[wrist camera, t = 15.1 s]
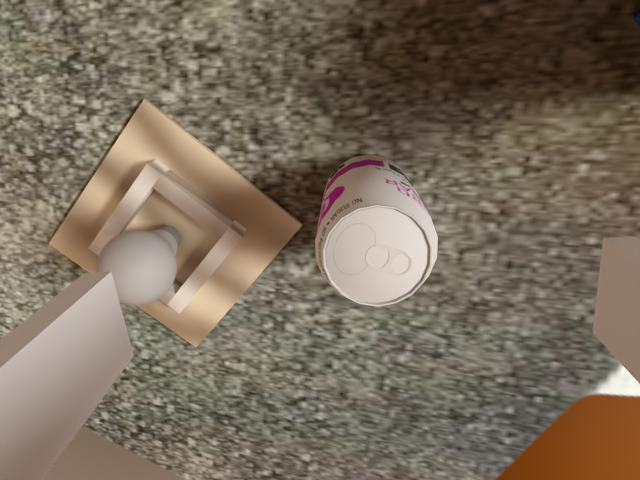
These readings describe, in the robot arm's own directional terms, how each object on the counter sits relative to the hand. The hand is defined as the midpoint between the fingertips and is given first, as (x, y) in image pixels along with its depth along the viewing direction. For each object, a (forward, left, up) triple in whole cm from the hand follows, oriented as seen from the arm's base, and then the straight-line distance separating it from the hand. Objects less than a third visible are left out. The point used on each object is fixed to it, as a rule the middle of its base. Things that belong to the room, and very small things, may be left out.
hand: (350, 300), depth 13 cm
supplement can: (+3, +5, -32) cm, 32 cm away
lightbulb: (+18, -7, -31) cm, 37 cm away
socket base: (+18, -7, -32) cm, 37 cm away
